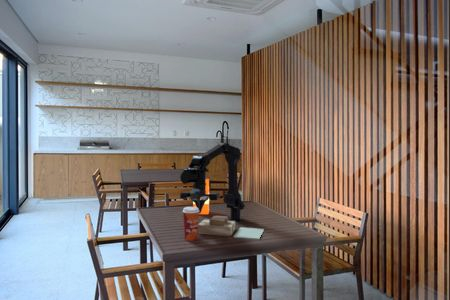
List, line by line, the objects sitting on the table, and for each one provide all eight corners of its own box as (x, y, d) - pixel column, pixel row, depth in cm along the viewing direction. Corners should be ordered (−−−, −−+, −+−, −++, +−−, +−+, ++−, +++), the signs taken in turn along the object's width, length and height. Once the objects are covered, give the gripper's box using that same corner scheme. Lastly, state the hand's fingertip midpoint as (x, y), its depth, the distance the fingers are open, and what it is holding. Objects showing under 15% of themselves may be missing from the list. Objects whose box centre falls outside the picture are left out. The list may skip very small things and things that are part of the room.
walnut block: (214, 220, 182) (214, 215, 182) (228, 221, 181) (228, 216, 181) (209, 225, 174) (209, 219, 174) (223, 226, 172) (223, 220, 172)
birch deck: (204, 226, 185) (204, 219, 185) (235, 229, 182) (235, 221, 181) (197, 233, 174) (197, 225, 173) (230, 235, 170) (230, 227, 170)
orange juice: (208, 214, 213) (208, 180, 212) (193, 214, 213) (193, 179, 212) (209, 211, 221) (209, 178, 220) (194, 211, 221) (194, 178, 220)
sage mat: (240, 228, 183) (240, 227, 183) (264, 230, 180) (264, 229, 180) (233, 237, 168) (233, 236, 168) (259, 239, 165) (259, 238, 165)
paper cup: (188, 242, 160) (188, 211, 159) (179, 238, 166) (179, 207, 165) (203, 239, 164) (203, 208, 163) (194, 235, 170) (194, 205, 170)
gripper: (175, 183, 173) (175, 215, 174) (213, 184, 168) (213, 218, 169) (183, 179, 184) (183, 210, 185) (219, 181, 179) (219, 212, 180)
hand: (199, 213), depth 179 cm, fingers closed
